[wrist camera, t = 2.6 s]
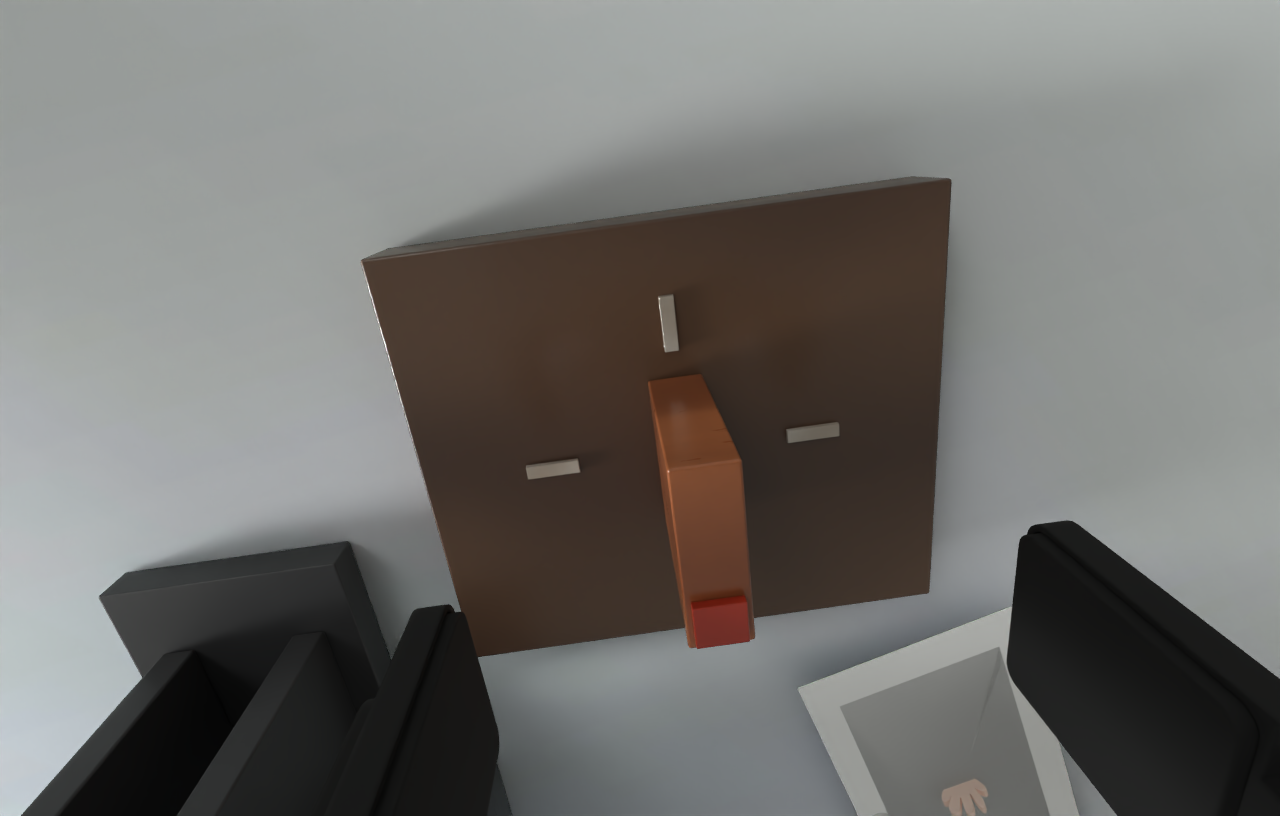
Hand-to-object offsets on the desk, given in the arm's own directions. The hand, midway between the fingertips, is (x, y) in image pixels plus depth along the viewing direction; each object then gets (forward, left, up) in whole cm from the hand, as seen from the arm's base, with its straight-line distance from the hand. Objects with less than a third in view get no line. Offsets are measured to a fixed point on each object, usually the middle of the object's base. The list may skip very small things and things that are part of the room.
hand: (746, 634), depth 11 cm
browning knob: (0, 0, -7) cm, 7 cm away
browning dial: (0, 0, -9) cm, 9 cm away
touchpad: (+16, +9, -9) cm, 20 cm away
